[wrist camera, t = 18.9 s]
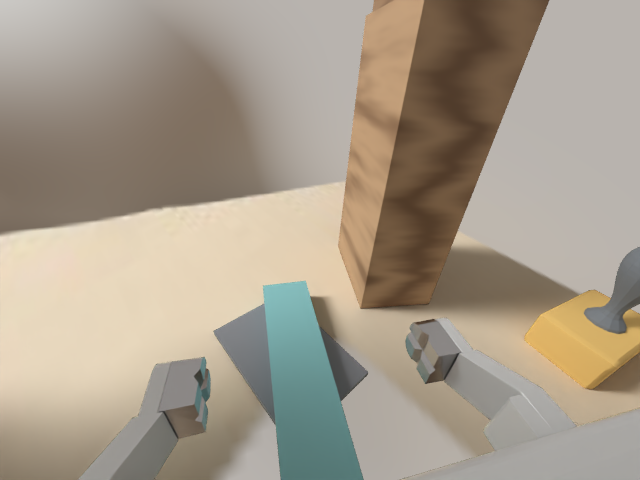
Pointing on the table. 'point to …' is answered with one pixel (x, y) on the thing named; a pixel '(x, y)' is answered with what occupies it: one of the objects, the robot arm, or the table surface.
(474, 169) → the walnut stand
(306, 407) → the teal rectangular bar
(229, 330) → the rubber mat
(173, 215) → the table surface
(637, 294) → the rubber stamp
